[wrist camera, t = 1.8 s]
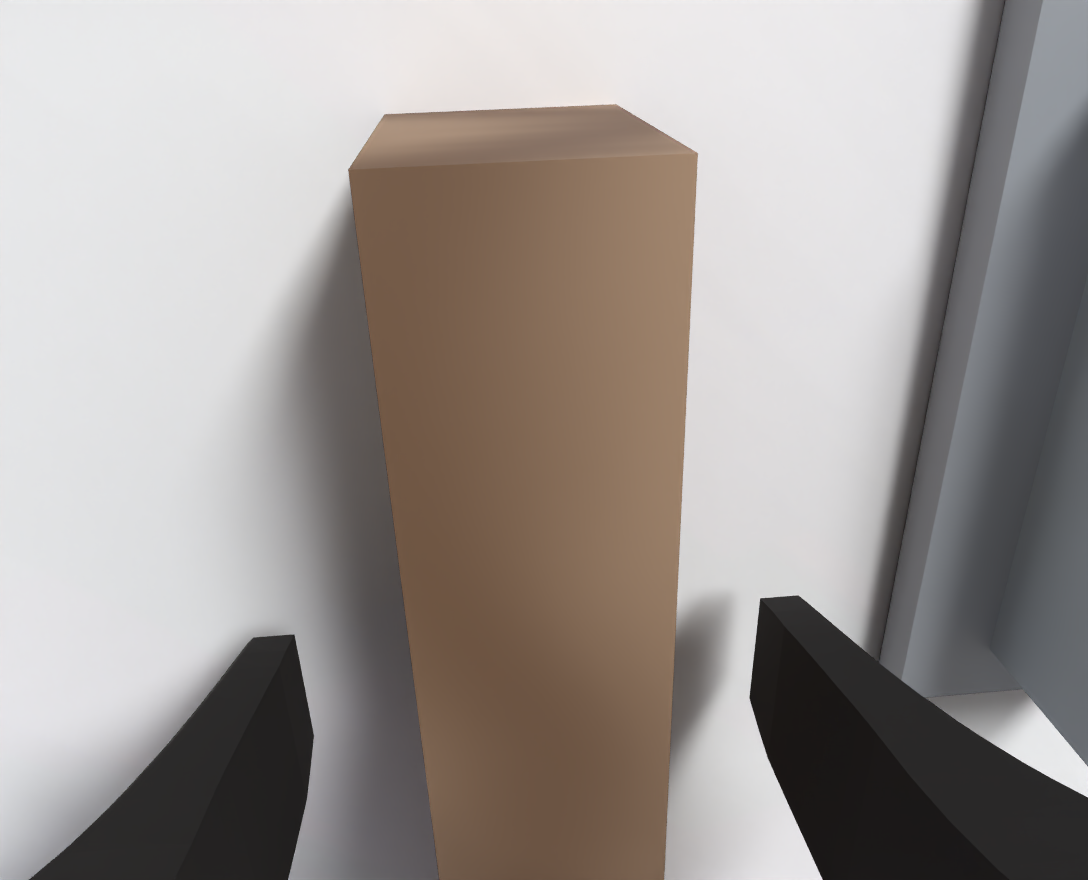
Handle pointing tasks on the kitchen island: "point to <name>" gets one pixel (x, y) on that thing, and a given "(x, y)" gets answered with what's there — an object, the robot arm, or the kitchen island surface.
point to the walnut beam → (535, 469)
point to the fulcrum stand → (1010, 403)
